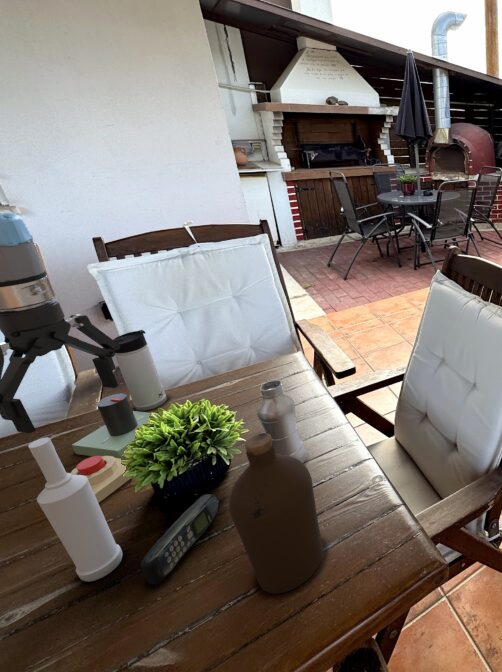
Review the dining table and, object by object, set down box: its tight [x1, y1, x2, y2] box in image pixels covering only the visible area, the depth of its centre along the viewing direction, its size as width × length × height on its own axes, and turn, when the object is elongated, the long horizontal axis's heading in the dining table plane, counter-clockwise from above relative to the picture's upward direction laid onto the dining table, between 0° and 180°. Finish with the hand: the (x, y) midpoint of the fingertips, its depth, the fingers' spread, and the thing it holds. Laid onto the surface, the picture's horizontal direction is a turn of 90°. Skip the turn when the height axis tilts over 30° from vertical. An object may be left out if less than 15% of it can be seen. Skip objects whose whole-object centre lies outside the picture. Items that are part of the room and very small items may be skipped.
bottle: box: [28, 437, 123, 582], centre depth 60 cm, size 5×5×25 cm
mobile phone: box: [140, 493, 220, 585], centre depth 68 cm, size 5×3×15 cm
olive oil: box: [228, 432, 324, 595], centre depth 60 cm, size 11×11×25 cm
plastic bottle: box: [256, 379, 307, 464], centre depth 81 cm, size 6×7×20 cm
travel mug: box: [112, 329, 168, 412], centre depth 101 cm, size 6×7×20 cm
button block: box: [70, 456, 133, 504], centre depth 79 cm, size 10×9×4 cm
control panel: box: [71, 410, 152, 459], centre depth 92 cm, size 12×12×3 cm
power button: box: [75, 456, 105, 476], centre depth 78 cm, size 4×4×2 cm
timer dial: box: [96, 393, 138, 436], centre depth 90 cm, size 5×5×8 cm
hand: (72, 407), depth 76 cm, fingers open, 13 cm apart
